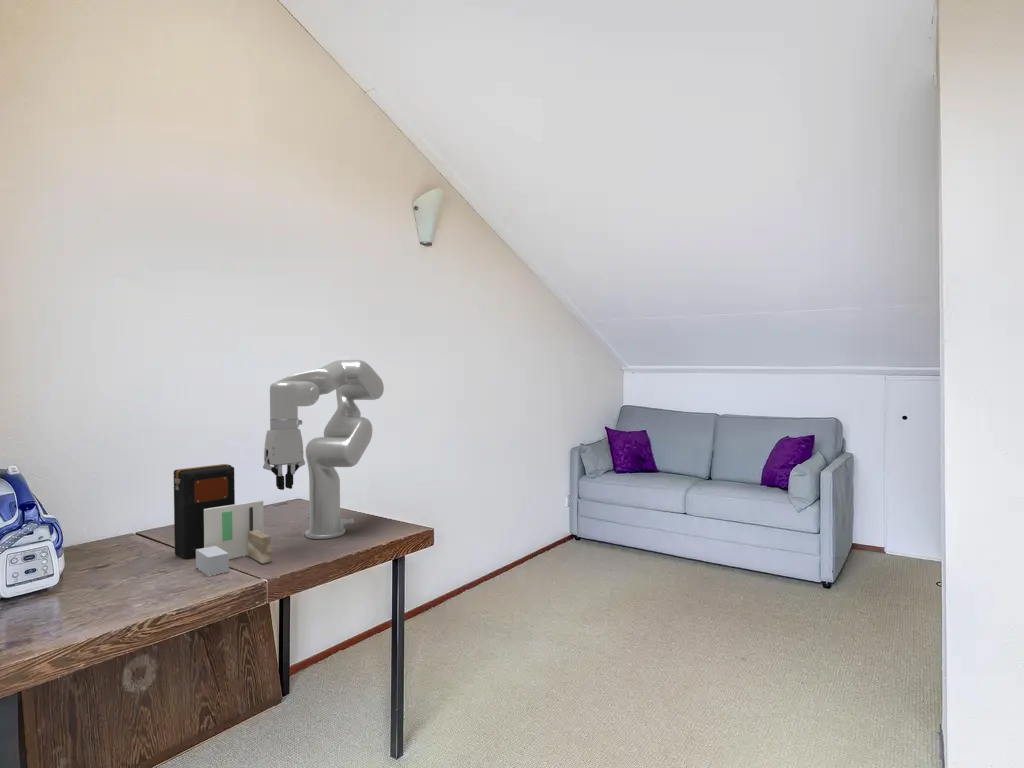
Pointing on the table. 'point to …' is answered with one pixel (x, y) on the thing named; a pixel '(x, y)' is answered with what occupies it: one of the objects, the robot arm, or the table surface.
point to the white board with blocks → (227, 535)
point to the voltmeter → (198, 502)
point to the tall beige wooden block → (258, 543)
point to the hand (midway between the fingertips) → (284, 488)
